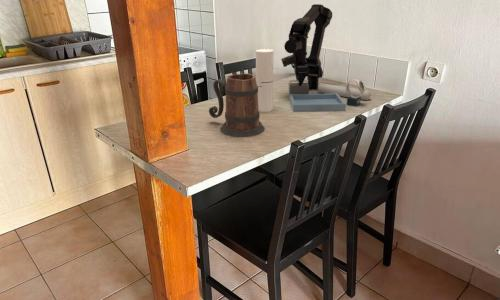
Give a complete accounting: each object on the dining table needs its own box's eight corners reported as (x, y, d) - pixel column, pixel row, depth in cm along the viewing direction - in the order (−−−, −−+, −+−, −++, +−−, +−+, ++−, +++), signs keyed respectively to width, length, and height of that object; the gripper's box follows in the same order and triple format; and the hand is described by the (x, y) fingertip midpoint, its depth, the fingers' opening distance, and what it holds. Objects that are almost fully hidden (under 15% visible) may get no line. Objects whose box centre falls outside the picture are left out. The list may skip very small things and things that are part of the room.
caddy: (288, 95, 181) (288, 79, 177) (306, 94, 181) (307, 78, 177) (289, 98, 176) (289, 81, 173) (308, 97, 176) (309, 81, 173)
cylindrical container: (271, 112, 157) (271, 52, 147) (254, 111, 158) (254, 51, 148) (273, 107, 163) (274, 49, 153) (257, 106, 165) (257, 48, 154)
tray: (289, 100, 172) (289, 94, 171) (336, 99, 172) (337, 93, 171) (293, 111, 157) (293, 104, 156) (345, 110, 157) (345, 104, 156)
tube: (373, 90, 171) (323, 83, 184) (370, 89, 167) (318, 82, 180) (370, 102, 172) (320, 94, 185) (367, 101, 168) (316, 93, 180)
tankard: (273, 125, 143) (273, 74, 134) (249, 140, 130) (248, 84, 121) (223, 115, 154) (221, 67, 146) (197, 128, 141) (193, 76, 133)
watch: (360, 107, 161) (363, 82, 157) (342, 104, 165) (345, 80, 161) (364, 103, 166) (367, 79, 161) (347, 101, 170) (349, 77, 165)
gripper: (280, 46, 178) (280, 78, 184) (284, 53, 161) (283, 89, 167) (304, 46, 178) (302, 78, 184) (310, 53, 161) (308, 88, 167)
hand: (298, 83), depth 176 cm, fingers open, 9 cm apart
